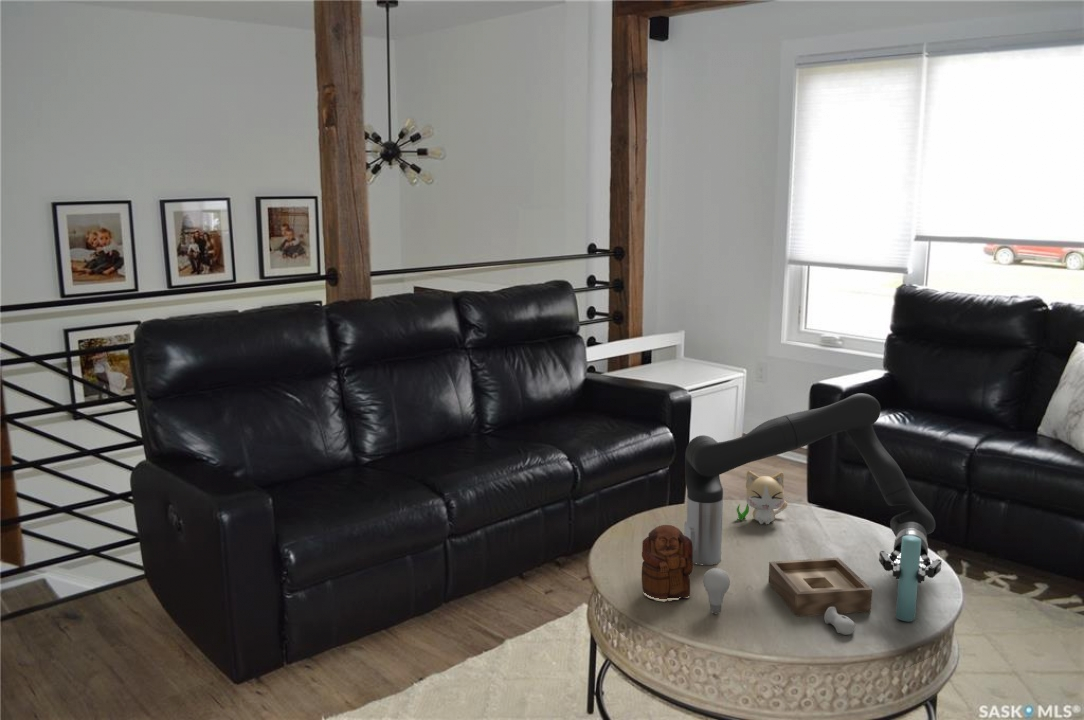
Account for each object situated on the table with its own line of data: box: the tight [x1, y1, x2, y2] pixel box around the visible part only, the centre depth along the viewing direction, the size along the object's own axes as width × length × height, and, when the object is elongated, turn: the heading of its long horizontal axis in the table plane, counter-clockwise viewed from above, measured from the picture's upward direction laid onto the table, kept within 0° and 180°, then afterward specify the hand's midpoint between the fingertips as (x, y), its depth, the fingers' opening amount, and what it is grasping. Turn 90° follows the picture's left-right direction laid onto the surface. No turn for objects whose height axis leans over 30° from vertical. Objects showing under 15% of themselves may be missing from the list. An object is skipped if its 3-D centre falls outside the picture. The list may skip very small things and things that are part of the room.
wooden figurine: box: [641, 524, 694, 599], centre depth 214 cm, size 12×6×18 cm, turn 98°
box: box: [768, 557, 873, 617], centre depth 214 cm, size 18×18×6 cm
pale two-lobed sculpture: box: [823, 607, 856, 636], centre depth 199 cm, size 4×8×5 cm
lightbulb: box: [702, 567, 731, 614], centre depth 206 cm, size 6×6×11 cm
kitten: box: [736, 470, 788, 525], centre depth 261 cm, size 15×10×15 cm, turn 80°
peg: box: [895, 536, 921, 622], centre depth 200 cm, size 4×4×19 cm
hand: (908, 577), depth 198 cm, fingers closed on peg, 4 cm apart
